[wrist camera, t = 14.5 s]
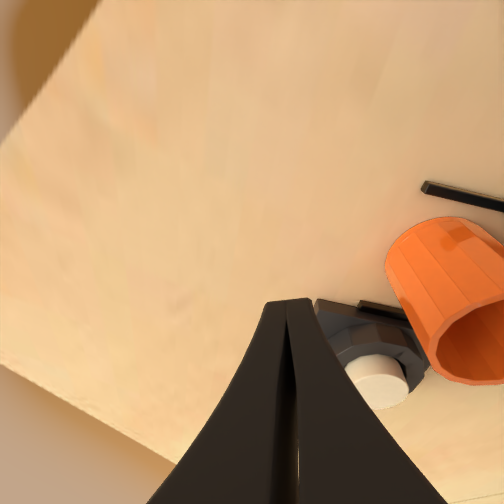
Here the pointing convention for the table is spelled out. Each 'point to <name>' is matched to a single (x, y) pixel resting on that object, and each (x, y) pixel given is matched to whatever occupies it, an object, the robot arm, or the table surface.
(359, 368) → the button
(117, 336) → the table surface
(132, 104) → the table surface
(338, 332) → the button block
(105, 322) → the table surface
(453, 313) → the cup
